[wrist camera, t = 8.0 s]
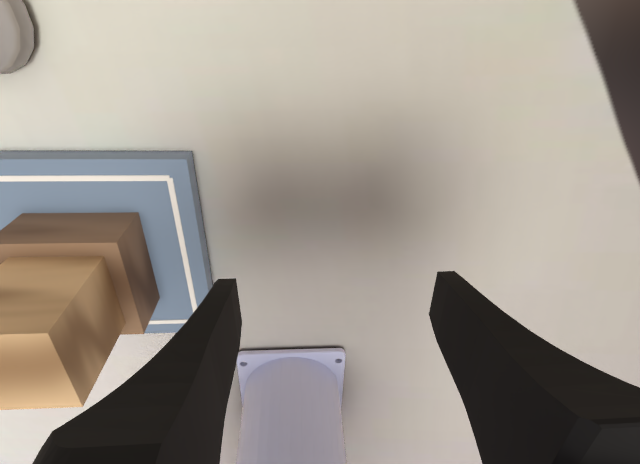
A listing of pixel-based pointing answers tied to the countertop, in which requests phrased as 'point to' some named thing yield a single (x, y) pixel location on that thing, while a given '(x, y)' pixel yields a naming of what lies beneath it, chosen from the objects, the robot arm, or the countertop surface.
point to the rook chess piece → (15, 35)
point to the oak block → (55, 329)
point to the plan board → (122, 201)
